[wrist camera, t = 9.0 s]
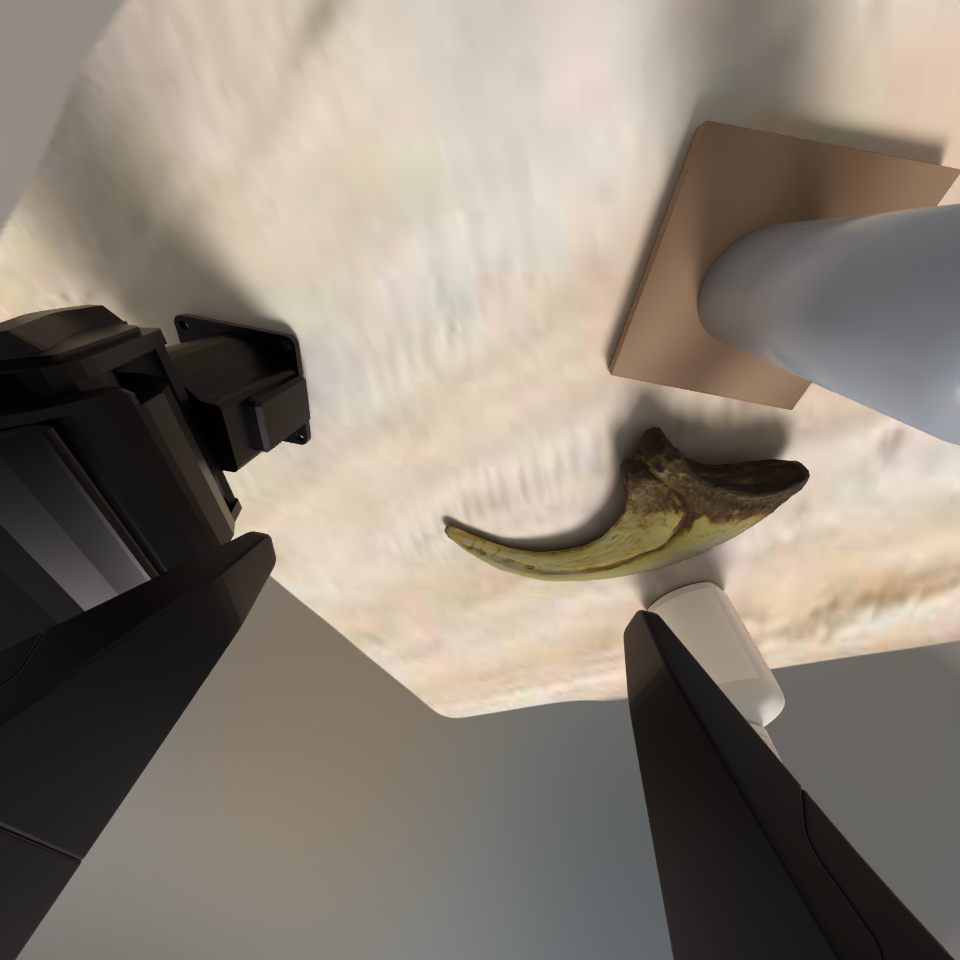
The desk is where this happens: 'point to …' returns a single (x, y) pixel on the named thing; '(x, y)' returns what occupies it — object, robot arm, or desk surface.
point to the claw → (658, 515)
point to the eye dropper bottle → (724, 650)
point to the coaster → (728, 216)
